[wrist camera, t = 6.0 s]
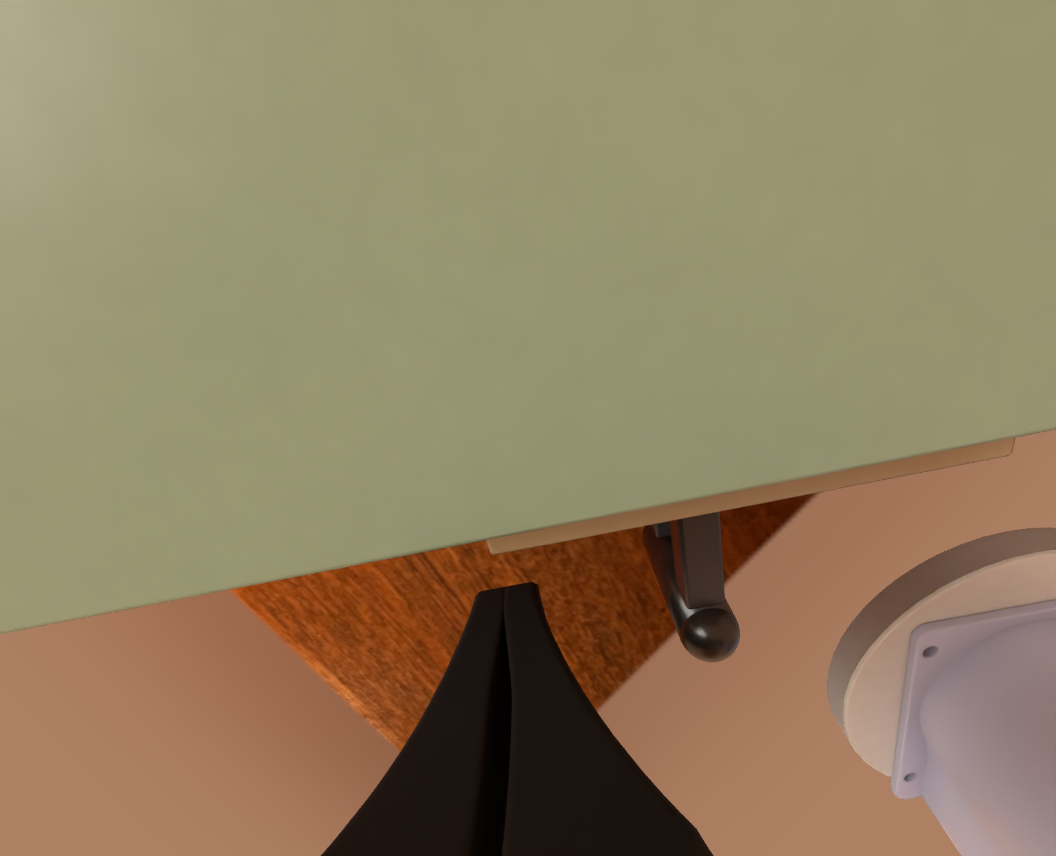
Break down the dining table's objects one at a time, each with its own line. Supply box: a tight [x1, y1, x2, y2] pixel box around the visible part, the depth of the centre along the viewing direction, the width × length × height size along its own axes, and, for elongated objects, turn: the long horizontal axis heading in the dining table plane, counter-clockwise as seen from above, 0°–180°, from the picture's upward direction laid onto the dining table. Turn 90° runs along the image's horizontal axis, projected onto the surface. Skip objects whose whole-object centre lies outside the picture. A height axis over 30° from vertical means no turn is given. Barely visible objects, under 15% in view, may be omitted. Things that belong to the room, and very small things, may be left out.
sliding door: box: [486, 437, 1015, 662], centre depth 12 cm, size 6×7×7 cm
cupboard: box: [0, 0, 1056, 634], centre depth 9 cm, size 11×14×9 cm
